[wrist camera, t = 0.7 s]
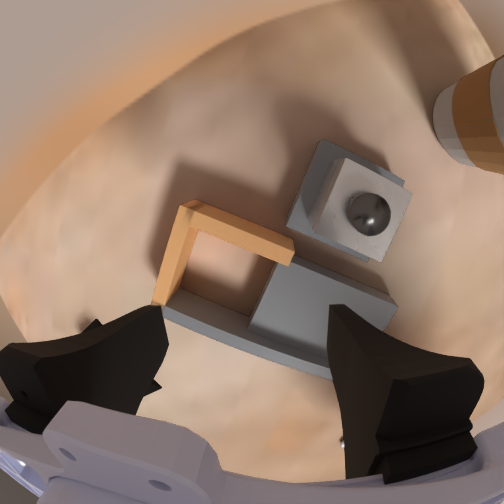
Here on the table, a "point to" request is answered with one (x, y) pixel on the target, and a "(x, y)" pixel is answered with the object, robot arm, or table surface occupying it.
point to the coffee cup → (474, 118)
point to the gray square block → (312, 185)
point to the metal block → (358, 208)
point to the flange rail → (264, 294)
